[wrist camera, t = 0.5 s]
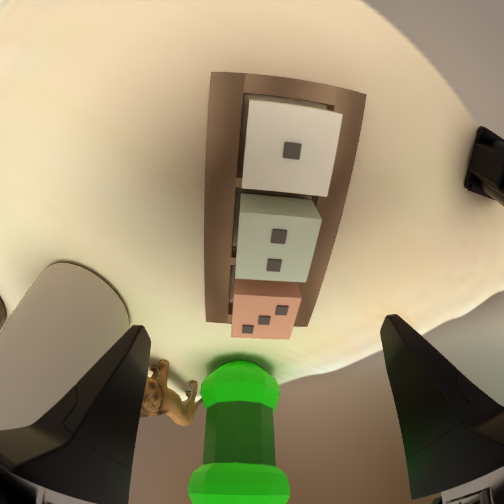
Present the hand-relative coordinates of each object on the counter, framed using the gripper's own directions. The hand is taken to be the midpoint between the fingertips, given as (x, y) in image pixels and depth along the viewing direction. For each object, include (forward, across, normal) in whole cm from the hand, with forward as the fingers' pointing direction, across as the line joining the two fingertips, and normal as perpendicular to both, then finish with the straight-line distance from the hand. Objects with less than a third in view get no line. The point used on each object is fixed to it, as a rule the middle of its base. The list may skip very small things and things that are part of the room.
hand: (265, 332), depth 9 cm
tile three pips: (+11, 0, +9) cm, 14 cm away
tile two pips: (+11, -1, +2) cm, 12 cm away
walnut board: (+13, -1, +2) cm, 13 cm away
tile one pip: (+11, -2, -4) cm, 12 cm away
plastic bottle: (+13, +3, +24) cm, 27 cm away
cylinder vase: (+13, +21, +11) cm, 27 cm away
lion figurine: (+13, +14, +26) cm, 32 cm away
